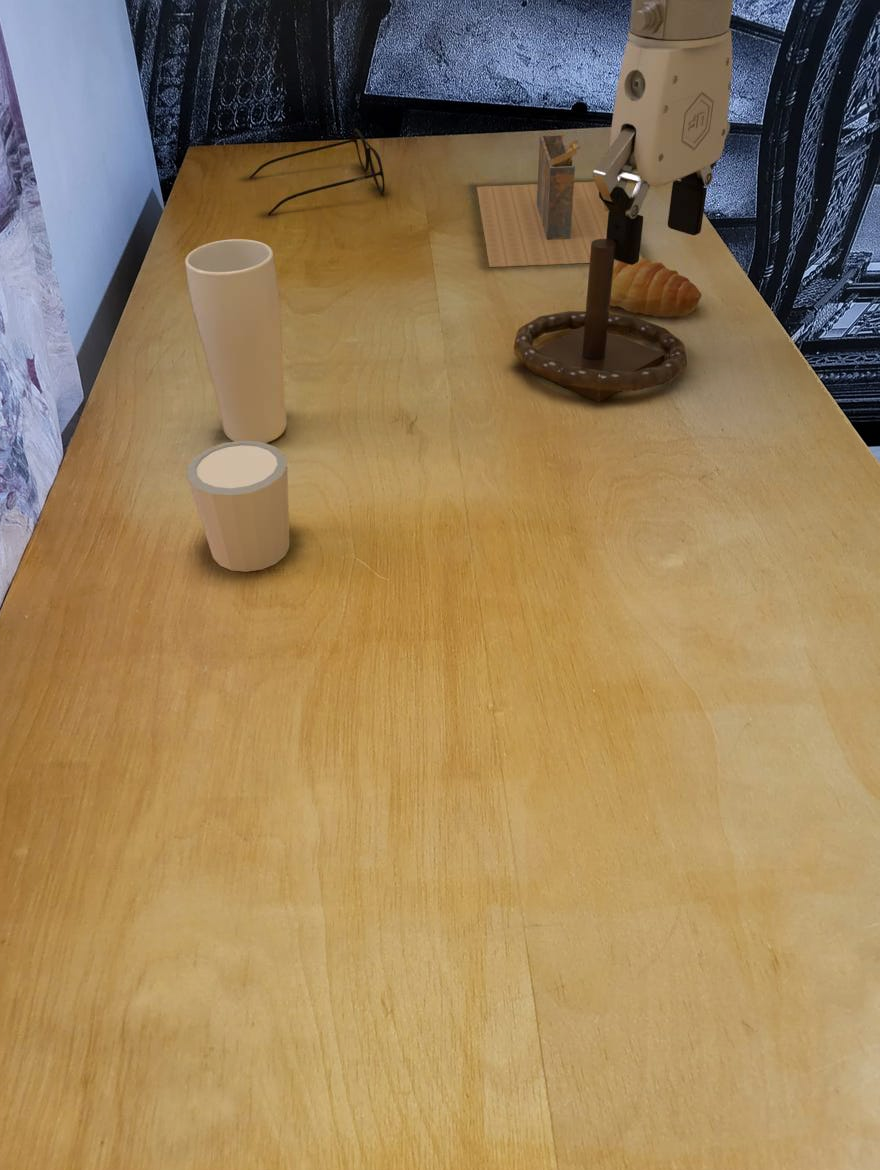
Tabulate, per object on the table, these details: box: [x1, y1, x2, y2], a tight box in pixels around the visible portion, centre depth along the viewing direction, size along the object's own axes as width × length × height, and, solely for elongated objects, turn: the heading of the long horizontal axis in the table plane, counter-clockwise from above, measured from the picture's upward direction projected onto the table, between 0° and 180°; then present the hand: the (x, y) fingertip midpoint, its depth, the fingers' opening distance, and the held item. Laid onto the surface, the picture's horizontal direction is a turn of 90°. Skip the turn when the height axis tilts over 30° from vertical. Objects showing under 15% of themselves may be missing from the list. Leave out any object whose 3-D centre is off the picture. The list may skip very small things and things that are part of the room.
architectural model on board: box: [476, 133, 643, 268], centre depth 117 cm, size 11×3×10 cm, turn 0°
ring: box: [513, 310, 688, 392], centre depth 93 cm, size 15×16×2 cm
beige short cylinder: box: [186, 441, 290, 573], centre depth 73 cm, size 7×7×7 cm
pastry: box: [610, 258, 702, 318], centre depth 101 cm, size 9×7×4 cm
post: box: [521, 239, 666, 403], centre depth 90 cm, size 9×9×11 cm
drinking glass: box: [184, 238, 288, 444], centre depth 83 cm, size 7×7×15 cm
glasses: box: [249, 128, 386, 216], centre depth 131 cm, size 14×15×5 cm
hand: (653, 244), depth 91 cm, fingers open, 8 cm apart
